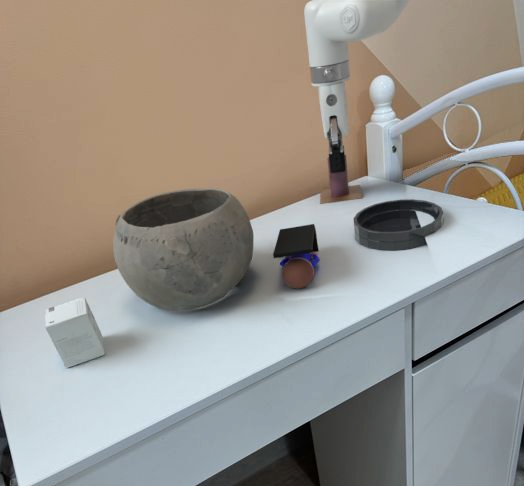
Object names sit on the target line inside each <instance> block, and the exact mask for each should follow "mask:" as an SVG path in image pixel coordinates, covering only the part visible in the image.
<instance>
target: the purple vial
mask: <svg viewBox="0 0 524 486" xmlns="http://www.w3.org/2000/svg"><path fill="white" fill-rule="evenodd" d="M342 146H343V145H342ZM343 151H344V152H345V147H344V148H343ZM329 153H330V151H329V150H328V154H329ZM344 156H345V169H346V170H345V171H344V172H338V173H331V172H330V163H329V156H328V157H327V159H326V160H327V170H328V179H329V180H328V181H329V189H330V190H331V196H333V197H341V196H345V195H347V194H349V186H350V185H349V174H348V173H349V172H348V162H347V161H348V160H347V155H346V154H345V155H344Z"/></svg>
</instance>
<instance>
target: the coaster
mask: <svg viewBox="0 0 524 486" xmlns="http://www.w3.org/2000/svg"><path fill="white" fill-rule="evenodd" d="M362 199H363V196H362V188H361V184H354V185H349V194H347V195H345V196H341V197H333V196H331V190H330V188H323V189H320V196H319V205H324V204H325V205H326V204H333V203H339V202H348V201H355V200H362Z"/></svg>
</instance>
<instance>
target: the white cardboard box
mask: <svg viewBox="0 0 524 486" xmlns="http://www.w3.org/2000/svg"><path fill="white" fill-rule="evenodd" d="M44 328H45V331H46V332H47V335H48V336H49V338H50V340H51V343H52V344H53V347H54V348H55V350H56V352H57V354H58V356H59V358H60V359H61V362H62V363H63V366H64V367H65V368H66V369H68V368H71V367H74V366H78V365H79V364H83V363H85V362H88V361H91V360H94V359H97V358H100V357H102V356H105V354H106V352H105V347H104V340H103V339H104V337H103V334H102V331H101V329H100V327H99V325H98V323H97V320H96V318H95V316H94V314H93V312H92V310H91V307H90V305H89V303H88V301H87V298H86V297H85V296H82V297H79V298H76V299H73V300H70V301H67V302H64V303H61V304H58V305H55V306H52V307H49V308H46V309H45V316H44Z"/></svg>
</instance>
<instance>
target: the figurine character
mask: <svg viewBox="0 0 524 486" xmlns="http://www.w3.org/2000/svg"><path fill="white" fill-rule="evenodd" d="M318 252H320V251H319V244H318V235H317V229H316V225H315V223H312V224H305V225H298V226H293V227H287V228H280V229H279V230H278V236H277V239H276V242H275V247H274V250H273V253H272V258H273V259H279V258H284V259H282V260H281V261H279V266H280V267H281V270H282V271H281V273H282V280H283V282H284V283H285V284H286V285H287V286H288V287H290V288H291V289H296V290H297V289H298V290H299V289H304V288H307V286H309V285H310V284H311V283H312V281H313V280H314V277H315V270H314V268H316V266H317V264H318V263H319V262H320V258H319V256H318Z"/></svg>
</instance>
